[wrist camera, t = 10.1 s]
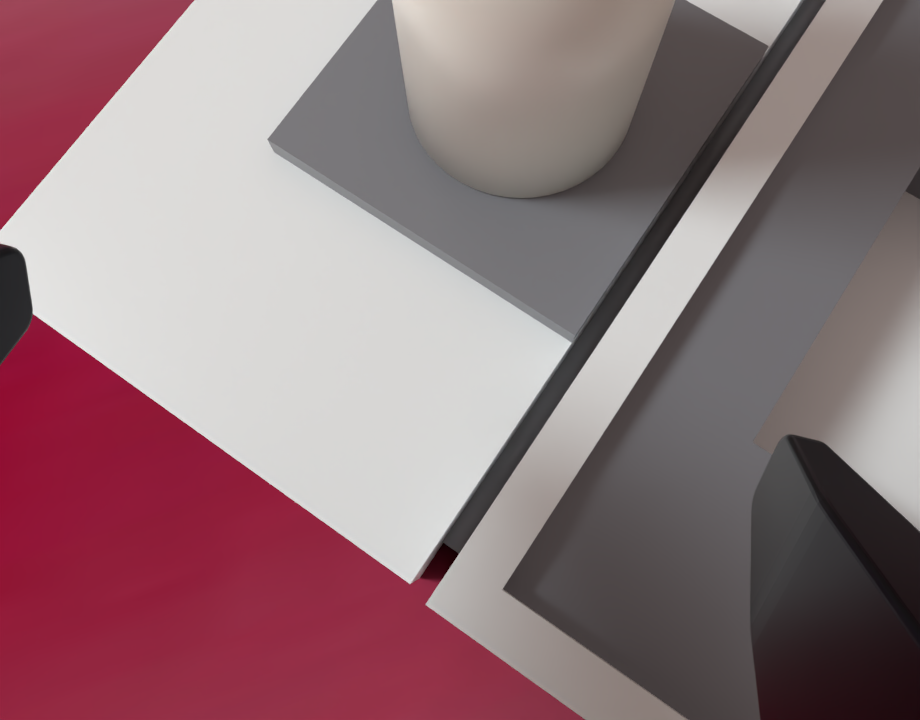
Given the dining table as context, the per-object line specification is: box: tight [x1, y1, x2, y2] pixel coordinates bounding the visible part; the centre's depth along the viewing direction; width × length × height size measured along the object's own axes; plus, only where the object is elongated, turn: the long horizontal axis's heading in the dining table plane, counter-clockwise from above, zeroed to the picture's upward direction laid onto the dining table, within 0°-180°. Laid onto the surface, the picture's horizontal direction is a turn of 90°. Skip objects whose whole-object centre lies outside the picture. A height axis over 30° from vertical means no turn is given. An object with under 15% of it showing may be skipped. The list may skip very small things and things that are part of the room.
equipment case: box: [0, 0, 920, 720], centre depth 18 cm, size 20×28×4 cm
